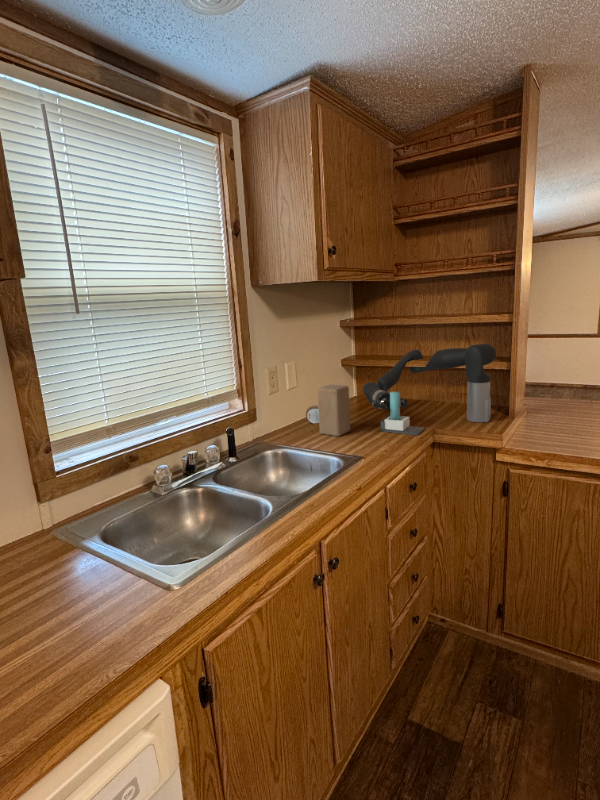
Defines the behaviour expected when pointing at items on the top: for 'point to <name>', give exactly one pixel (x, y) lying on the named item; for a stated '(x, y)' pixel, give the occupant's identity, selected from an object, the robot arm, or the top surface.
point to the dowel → (394, 405)
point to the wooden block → (334, 410)
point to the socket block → (397, 423)
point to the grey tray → (410, 430)
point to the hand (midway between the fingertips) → (395, 406)
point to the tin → (313, 414)
